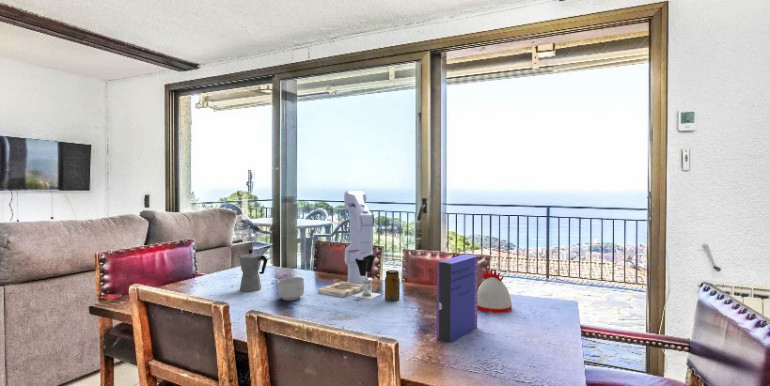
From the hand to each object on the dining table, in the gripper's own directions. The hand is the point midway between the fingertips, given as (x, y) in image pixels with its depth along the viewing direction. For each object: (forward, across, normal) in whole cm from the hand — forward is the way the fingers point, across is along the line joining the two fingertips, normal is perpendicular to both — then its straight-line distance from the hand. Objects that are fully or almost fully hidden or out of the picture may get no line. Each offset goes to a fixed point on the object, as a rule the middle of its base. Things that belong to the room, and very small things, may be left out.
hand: (365, 273), depth 175 cm
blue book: (+10, +33, +41) cm, 54 cm away
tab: (+9, 0, 0) cm, 9 cm away
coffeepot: (+10, +4, -52) cm, 53 cm away
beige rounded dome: (+10, +2, +52) cm, 53 cm away
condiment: (+10, +4, +13) cm, 17 cm away
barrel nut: (+9, 0, 0) cm, 9 cm away
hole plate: (+9, -4, -12) cm, 16 cm away
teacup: (+10, +10, -29) cm, 32 cm away
